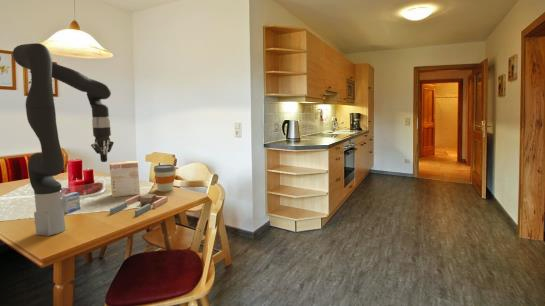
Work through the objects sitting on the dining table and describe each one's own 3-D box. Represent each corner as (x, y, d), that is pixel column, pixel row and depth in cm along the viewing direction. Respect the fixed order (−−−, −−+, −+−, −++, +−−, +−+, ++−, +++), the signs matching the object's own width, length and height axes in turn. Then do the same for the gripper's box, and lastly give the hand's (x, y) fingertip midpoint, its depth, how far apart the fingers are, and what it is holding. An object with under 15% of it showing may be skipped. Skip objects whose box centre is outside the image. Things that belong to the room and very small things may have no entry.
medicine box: (68, 213, 152) (66, 196, 151) (60, 213, 153) (58, 196, 152) (80, 208, 160) (79, 192, 159) (73, 208, 161) (71, 191, 160)
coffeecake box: (139, 191, 193) (137, 160, 190) (140, 194, 186) (138, 162, 183) (112, 194, 187) (110, 162, 184) (111, 197, 180) (109, 164, 177)
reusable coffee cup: (151, 189, 197) (149, 166, 195) (168, 186, 206) (167, 163, 204) (161, 193, 189) (160, 169, 187) (179, 189, 198) (178, 166, 196)
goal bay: (155, 207, 161) (155, 203, 161) (124, 205, 165) (123, 201, 165) (167, 200, 174) (167, 196, 173) (138, 199, 177) (138, 194, 177)
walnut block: (151, 204, 167) (150, 197, 167) (140, 204, 168) (140, 197, 167) (156, 201, 173) (156, 194, 172) (146, 201, 174) (145, 194, 173)
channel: (137, 215, 150) (137, 210, 149) (110, 213, 152) (109, 208, 152) (150, 208, 160) (150, 203, 160) (124, 206, 163) (124, 202, 163)
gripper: (98, 127, 144) (101, 164, 146) (117, 125, 157) (119, 159, 159) (84, 127, 145) (87, 163, 148) (104, 125, 158) (107, 159, 161)
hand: (104, 161), depth 154 cm, fingers closed
